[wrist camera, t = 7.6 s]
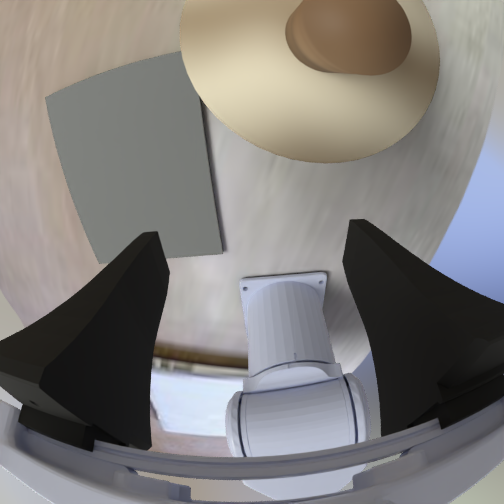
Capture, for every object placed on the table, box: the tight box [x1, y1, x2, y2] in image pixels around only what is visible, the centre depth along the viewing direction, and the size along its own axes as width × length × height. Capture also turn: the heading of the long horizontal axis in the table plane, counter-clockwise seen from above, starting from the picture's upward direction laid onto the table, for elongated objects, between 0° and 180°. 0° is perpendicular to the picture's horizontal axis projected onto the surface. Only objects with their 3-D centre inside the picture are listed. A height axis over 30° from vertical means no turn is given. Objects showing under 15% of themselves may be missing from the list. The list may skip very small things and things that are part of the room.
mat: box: [45, 51, 223, 264], centre depth 19 cm, size 16×12×1 cm
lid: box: [180, 0, 440, 163], centre depth 6 cm, size 10×10×4 cm
